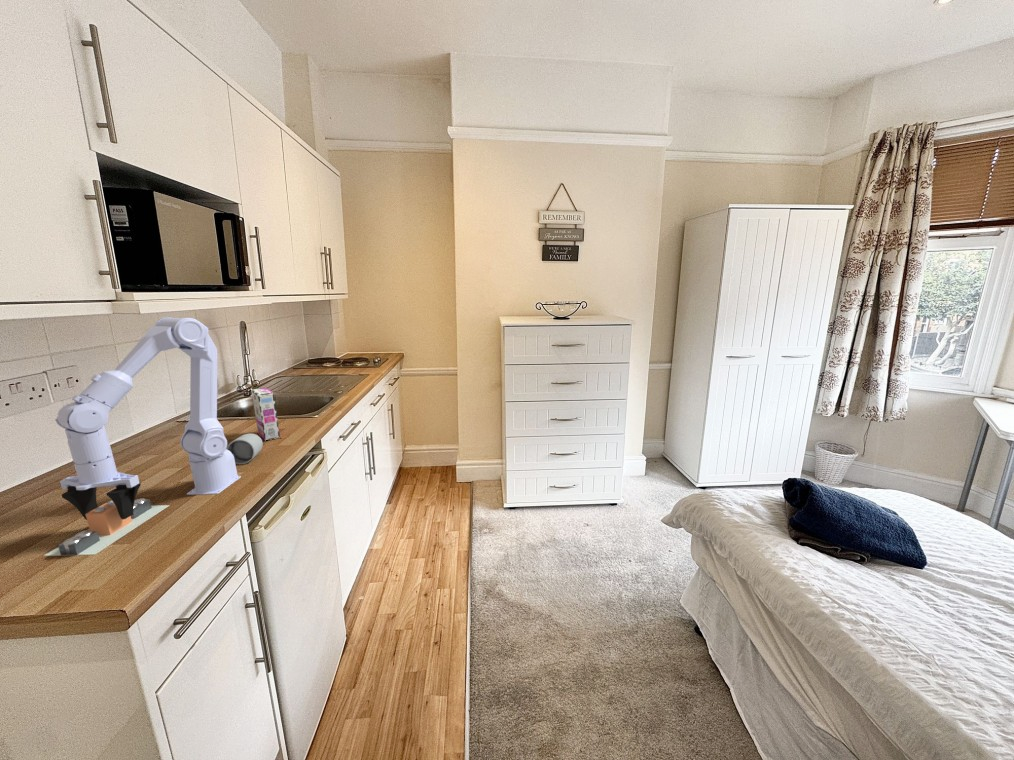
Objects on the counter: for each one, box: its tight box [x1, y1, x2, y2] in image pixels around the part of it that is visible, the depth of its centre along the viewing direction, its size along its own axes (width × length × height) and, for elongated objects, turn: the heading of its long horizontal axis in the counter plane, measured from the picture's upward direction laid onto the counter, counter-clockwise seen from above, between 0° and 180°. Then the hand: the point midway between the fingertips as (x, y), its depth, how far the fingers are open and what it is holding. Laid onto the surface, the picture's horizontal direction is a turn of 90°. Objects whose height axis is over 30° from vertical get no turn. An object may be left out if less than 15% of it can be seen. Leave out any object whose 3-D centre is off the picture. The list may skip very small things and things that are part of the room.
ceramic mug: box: [226, 432, 264, 465], centre depth 121 cm, size 11×8×8 cm
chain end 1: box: [57, 529, 100, 556], centre depth 80 cm, size 5×3×2 cm
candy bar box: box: [251, 387, 281, 442], centre depth 140 cm, size 11×5×16 cm, turn 42°
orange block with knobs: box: [85, 500, 132, 535], centre depth 86 cm, size 5×4×6 cm
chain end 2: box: [131, 497, 153, 519], centre depth 92 cm, size 5×3×2 cm
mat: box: [43, 504, 170, 557], centre depth 87 cm, size 18×10×1 cm, turn 0°
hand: (109, 517), depth 86 cm, fingers open, 7 cm apart
